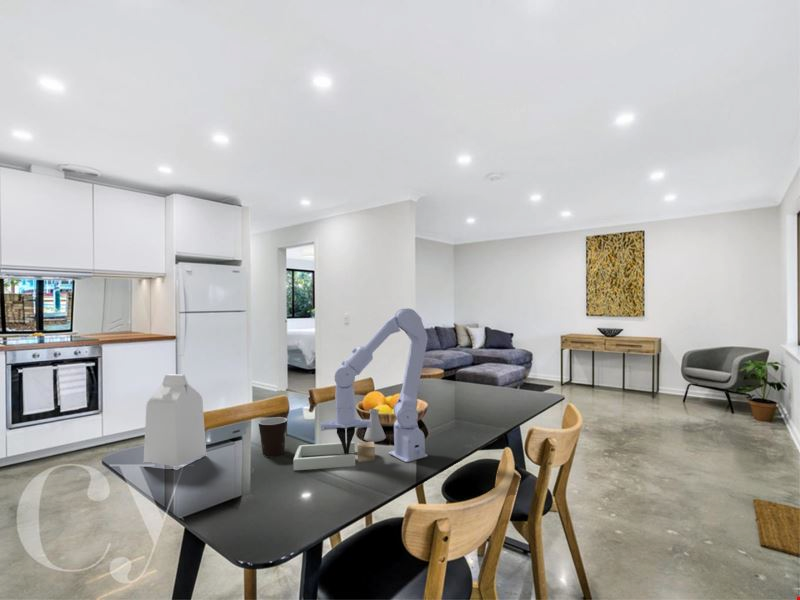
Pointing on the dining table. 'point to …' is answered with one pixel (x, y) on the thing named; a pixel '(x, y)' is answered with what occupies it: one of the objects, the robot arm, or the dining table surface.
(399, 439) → the robot arm
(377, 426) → the flask
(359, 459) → the oak block
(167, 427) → the milk
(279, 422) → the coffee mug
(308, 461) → the white tray
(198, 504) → the dining table surface
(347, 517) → the dining table surface
